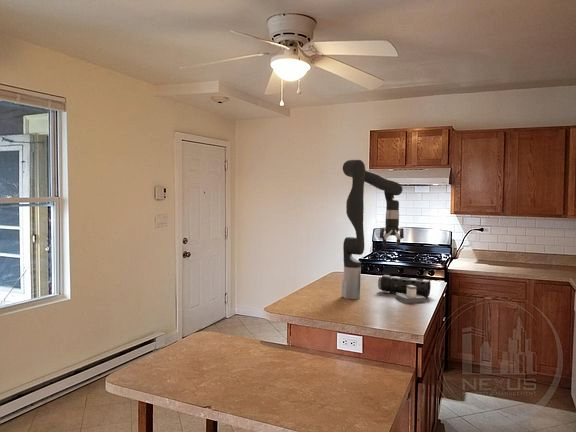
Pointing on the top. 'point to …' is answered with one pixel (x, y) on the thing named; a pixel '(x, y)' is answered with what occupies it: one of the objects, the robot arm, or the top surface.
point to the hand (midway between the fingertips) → (391, 245)
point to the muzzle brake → (403, 285)
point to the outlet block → (410, 298)
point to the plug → (411, 291)
